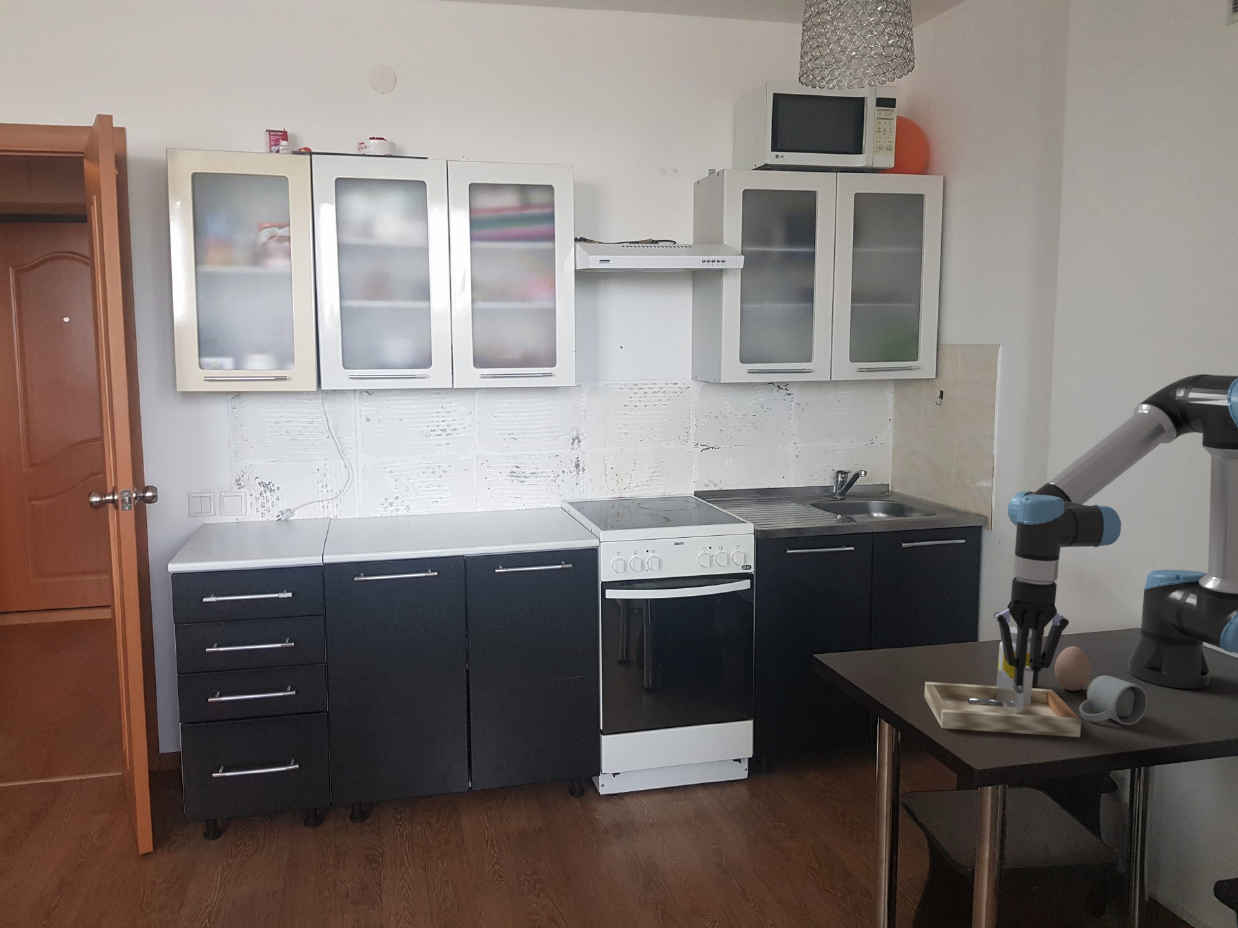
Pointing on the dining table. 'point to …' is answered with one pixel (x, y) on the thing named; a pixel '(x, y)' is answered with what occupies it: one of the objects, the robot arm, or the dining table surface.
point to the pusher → (1004, 695)
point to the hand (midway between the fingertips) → (1023, 701)
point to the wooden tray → (1000, 711)
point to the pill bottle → (1003, 663)
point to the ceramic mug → (1114, 701)
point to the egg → (1072, 668)
